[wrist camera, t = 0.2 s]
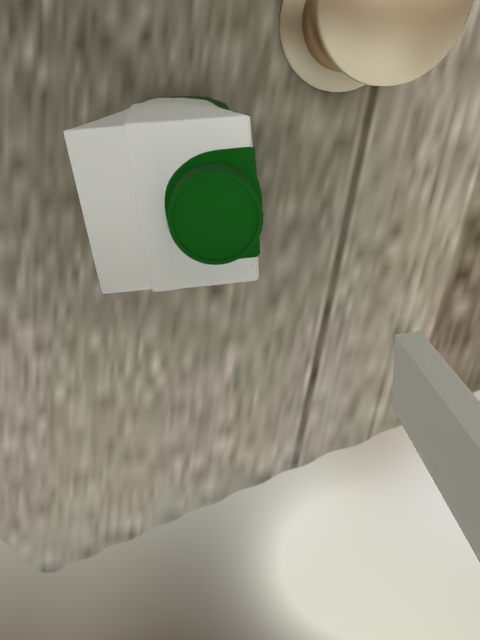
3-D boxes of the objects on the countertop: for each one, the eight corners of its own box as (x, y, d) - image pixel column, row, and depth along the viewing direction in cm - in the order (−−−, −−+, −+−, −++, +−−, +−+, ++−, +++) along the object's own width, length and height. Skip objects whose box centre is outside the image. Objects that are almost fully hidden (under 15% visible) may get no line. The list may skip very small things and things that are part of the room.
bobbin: (271, -45, 30) (302, -103, 21) (403, -69, 30) (495, -139, 21) (285, 101, 35) (316, 109, 25) (401, 80, 35) (476, 81, 25)
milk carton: (244, 204, 38) (276, 309, 21) (138, 213, 38) (78, 328, 20) (236, 88, 34) (268, 98, 16) (117, 98, 34) (20, 118, 16)
